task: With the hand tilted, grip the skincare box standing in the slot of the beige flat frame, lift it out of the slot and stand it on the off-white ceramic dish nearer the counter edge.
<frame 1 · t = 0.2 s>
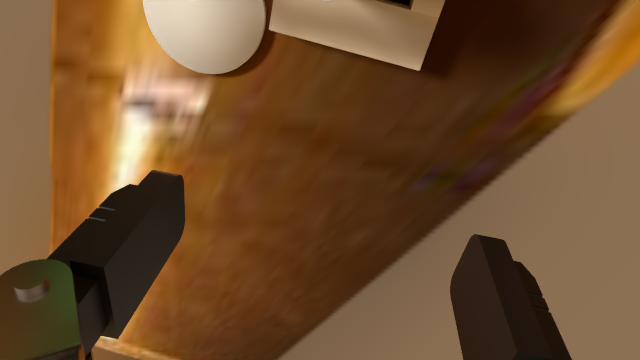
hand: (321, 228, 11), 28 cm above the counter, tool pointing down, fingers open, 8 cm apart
dish: (206, 10, 36), on the counter
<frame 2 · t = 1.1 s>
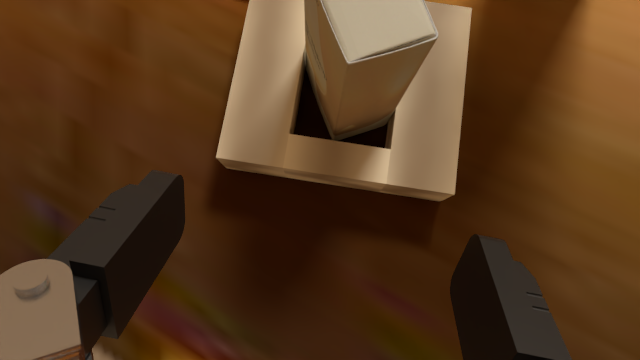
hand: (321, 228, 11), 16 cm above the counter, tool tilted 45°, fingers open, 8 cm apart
skincare box: (346, 99, 29), resting in beige flat frame
beige flat frame: (345, 97, 29), on the counter
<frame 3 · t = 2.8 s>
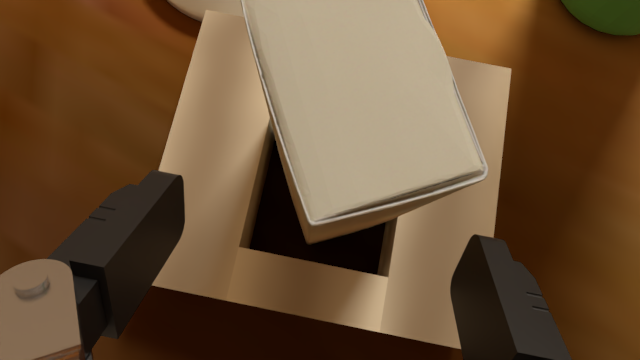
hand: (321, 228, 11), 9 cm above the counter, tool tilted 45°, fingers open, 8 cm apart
skincare box: (329, 181, 21), resting in beige flat frame
beige flat frame: (329, 181, 21), on the counter
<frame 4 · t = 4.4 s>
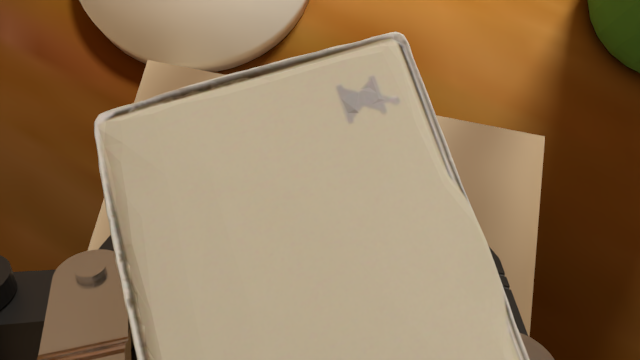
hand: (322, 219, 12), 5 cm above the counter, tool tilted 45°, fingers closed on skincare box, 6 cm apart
skincare box: (311, 273, 17), resting in beige flat frame, touching gripper
beige flat frame: (310, 273, 16), on the counter
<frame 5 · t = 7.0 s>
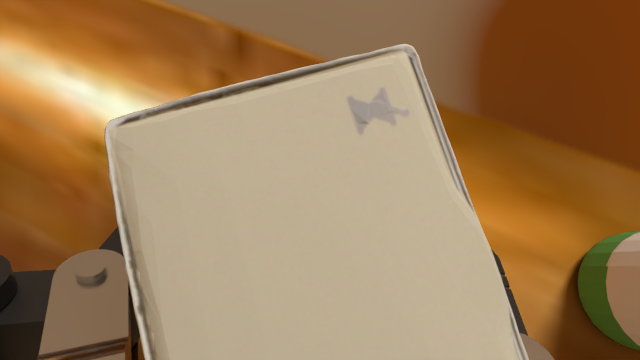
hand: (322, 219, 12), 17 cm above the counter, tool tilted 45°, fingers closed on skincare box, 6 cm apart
skincare box: (307, 274, 17), point 12 cm above the counter, touching gripper
wine bottle: (621, 288, 29), on the counter
when the fingers open (8 cm above the counter, at t = 9.5 s): skincare box drops 1 cm, resting on dish.
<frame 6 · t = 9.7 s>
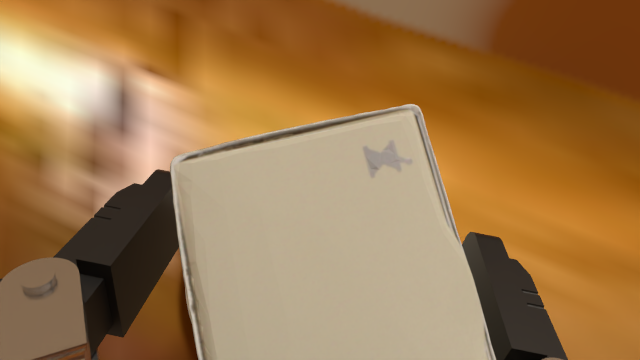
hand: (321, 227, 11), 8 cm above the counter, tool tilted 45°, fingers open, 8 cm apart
skincare box: (316, 280, 18), point 1 cm above the counter, touching dish
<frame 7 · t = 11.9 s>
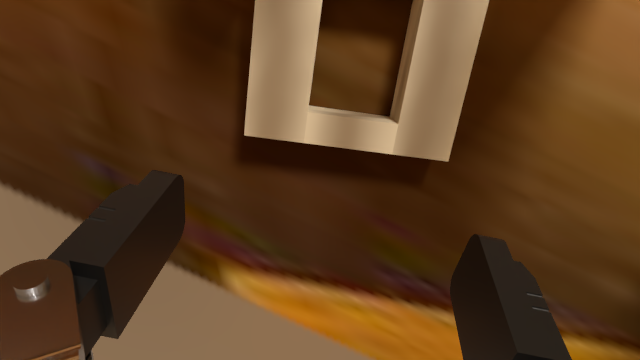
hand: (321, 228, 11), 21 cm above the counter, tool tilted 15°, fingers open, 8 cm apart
beige flat frame: (358, 54, 30), on the counter
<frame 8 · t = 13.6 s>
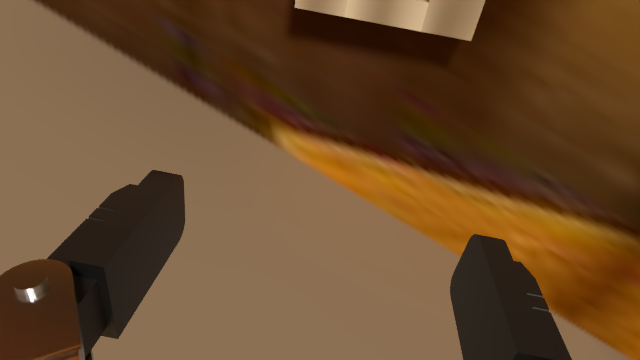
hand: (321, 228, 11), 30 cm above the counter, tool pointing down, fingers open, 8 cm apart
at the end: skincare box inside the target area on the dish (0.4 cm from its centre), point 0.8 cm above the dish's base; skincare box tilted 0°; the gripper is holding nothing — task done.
